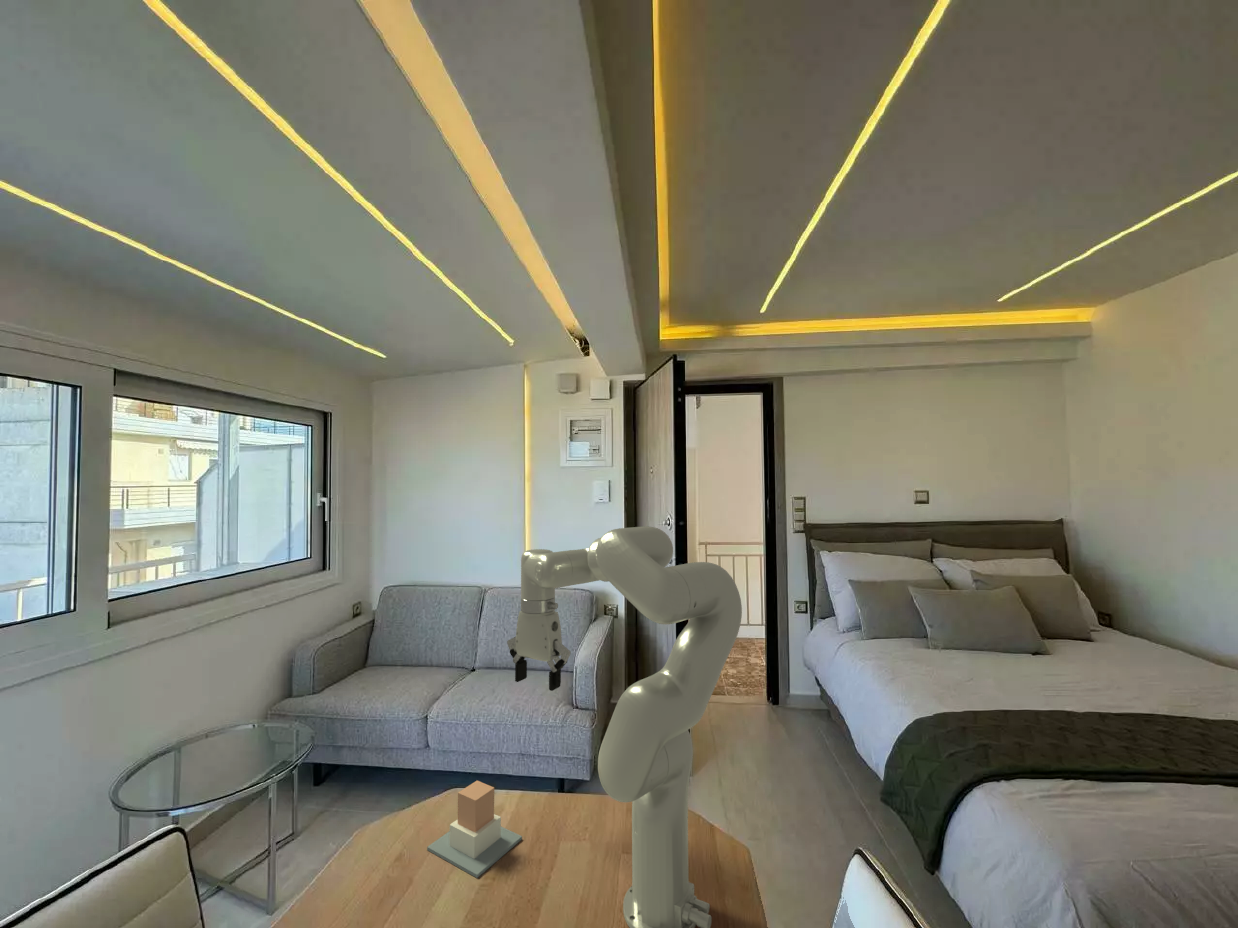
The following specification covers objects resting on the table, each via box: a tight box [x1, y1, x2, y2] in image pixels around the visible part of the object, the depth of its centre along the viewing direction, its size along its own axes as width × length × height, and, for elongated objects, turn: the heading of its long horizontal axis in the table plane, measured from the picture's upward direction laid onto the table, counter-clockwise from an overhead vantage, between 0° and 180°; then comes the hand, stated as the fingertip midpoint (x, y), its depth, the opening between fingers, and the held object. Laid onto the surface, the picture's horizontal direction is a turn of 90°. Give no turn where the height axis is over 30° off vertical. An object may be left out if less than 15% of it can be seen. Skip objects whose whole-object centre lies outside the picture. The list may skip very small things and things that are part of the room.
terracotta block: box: [457, 780, 495, 832], centre depth 101 cm, size 5×5×6 cm
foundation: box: [426, 813, 523, 879], centre depth 100 cm, size 14×12×5 cm
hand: (537, 684), depth 110 cm, fingers open, 9 cm apart
